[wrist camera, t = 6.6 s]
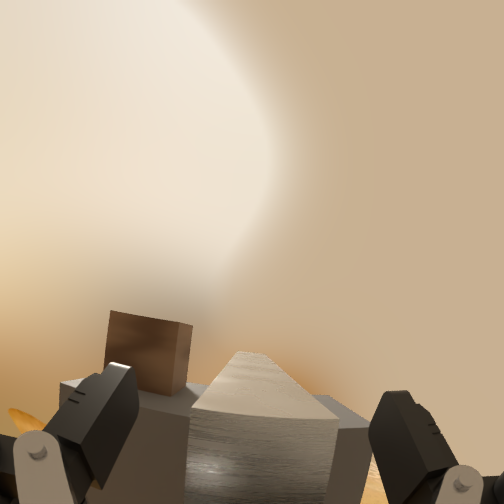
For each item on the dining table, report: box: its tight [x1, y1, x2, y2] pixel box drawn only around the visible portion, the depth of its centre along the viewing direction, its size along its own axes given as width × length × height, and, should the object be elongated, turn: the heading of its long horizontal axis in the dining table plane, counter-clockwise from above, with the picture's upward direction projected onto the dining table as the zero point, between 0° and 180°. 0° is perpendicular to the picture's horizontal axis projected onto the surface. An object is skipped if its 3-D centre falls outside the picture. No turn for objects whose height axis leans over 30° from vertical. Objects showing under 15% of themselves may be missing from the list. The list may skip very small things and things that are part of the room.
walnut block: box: [103, 310, 193, 397], centre depth 21 cm, size 5×5×5 cm
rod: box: [184, 351, 340, 504], centre depth 18 cm, size 3×28×3 cm, turn 1°
